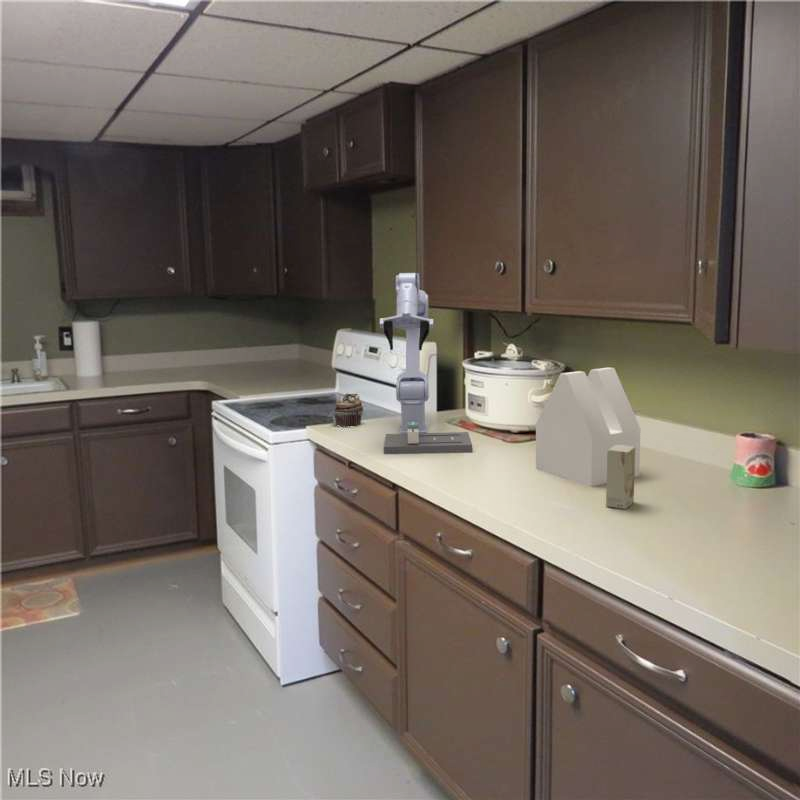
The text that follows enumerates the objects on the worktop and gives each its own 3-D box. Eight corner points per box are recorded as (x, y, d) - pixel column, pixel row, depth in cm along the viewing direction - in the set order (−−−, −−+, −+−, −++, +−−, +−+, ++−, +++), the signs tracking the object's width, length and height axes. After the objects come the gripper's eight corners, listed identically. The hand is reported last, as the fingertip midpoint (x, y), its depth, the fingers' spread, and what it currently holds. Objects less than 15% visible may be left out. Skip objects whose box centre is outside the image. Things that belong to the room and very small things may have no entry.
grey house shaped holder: (535, 469, 192) (536, 369, 188) (581, 459, 200) (583, 363, 195) (591, 487, 176) (593, 378, 171) (639, 476, 183) (642, 372, 179)
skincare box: (626, 510, 159) (627, 452, 157) (605, 507, 161) (606, 450, 159) (634, 501, 164) (636, 445, 162) (614, 498, 167) (615, 443, 164)
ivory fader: (407, 440, 215) (407, 428, 215) (418, 440, 215) (418, 428, 215) (407, 443, 211) (407, 431, 211) (418, 443, 211) (418, 431, 211)
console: (386, 440, 226) (385, 433, 226) (468, 438, 226) (468, 431, 225) (384, 454, 210) (383, 446, 210) (472, 452, 210) (472, 444, 210)
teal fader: (408, 433, 224) (407, 422, 224) (418, 432, 224) (418, 421, 223) (408, 436, 220) (407, 424, 220) (418, 436, 220) (418, 424, 220)
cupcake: (338, 421, 256) (337, 391, 254) (366, 421, 254) (365, 391, 252) (330, 427, 246) (328, 396, 245) (359, 428, 244) (358, 396, 243)
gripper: (380, 298, 210) (378, 338, 203) (433, 299, 210) (433, 339, 202) (381, 314, 216) (379, 354, 209) (432, 315, 216) (432, 355, 208)
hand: (405, 347), depth 206 cm, fingers open, 7 cm apart
